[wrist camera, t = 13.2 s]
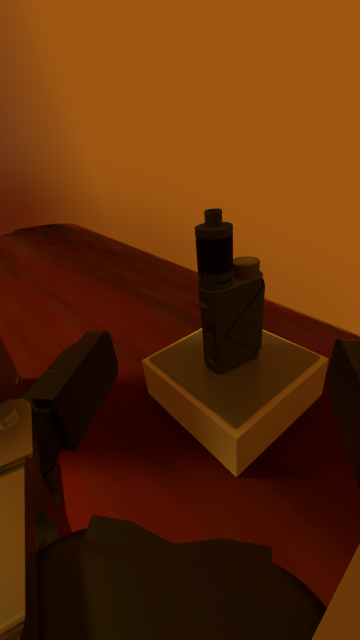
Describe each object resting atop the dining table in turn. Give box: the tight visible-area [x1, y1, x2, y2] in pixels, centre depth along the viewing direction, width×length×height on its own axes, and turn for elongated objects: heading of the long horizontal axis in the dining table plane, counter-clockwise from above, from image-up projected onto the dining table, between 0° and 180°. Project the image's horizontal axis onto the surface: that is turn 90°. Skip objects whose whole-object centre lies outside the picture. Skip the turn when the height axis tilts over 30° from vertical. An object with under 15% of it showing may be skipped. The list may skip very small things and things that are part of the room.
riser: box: [142, 328, 329, 477], centre depth 25 cm, size 11×11×4 cm
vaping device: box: [195, 209, 265, 374], centre depth 21 cm, size 3×5×12 cm, turn 119°
